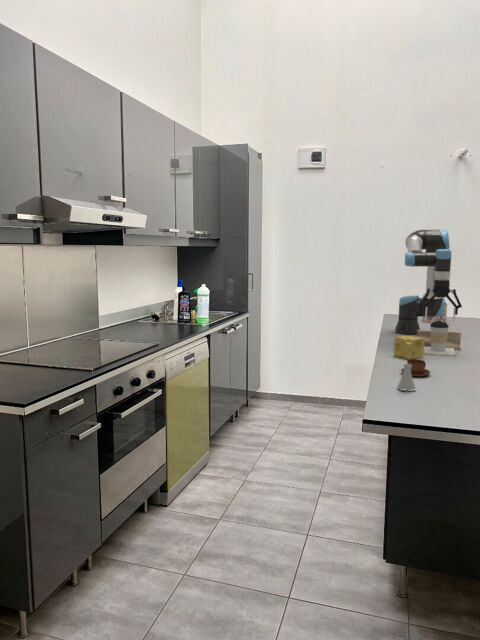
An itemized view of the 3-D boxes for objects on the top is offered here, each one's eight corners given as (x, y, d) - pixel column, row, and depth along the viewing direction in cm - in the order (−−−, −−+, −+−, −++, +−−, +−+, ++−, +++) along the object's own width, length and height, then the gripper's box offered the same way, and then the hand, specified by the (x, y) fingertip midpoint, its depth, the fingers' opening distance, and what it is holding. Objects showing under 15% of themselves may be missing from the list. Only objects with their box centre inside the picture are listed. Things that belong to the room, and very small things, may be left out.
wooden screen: (416, 345, 292) (417, 329, 291) (459, 348, 285) (460, 331, 283) (416, 347, 287) (417, 331, 285) (460, 350, 279) (461, 333, 278)
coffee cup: (448, 352, 270) (450, 323, 268) (430, 351, 272) (431, 322, 270) (445, 348, 279) (447, 320, 277) (427, 348, 281) (429, 320, 279)
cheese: (408, 360, 257) (409, 339, 255) (392, 355, 266) (393, 336, 265) (423, 357, 262) (424, 338, 260) (407, 353, 271) (408, 334, 270)
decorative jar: (421, 321, 378) (423, 296, 375) (434, 320, 382) (435, 295, 380) (434, 324, 367) (435, 298, 364) (446, 322, 372) (448, 297, 369)
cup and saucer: (407, 370, 237) (408, 356, 236) (434, 374, 230) (434, 360, 229) (396, 375, 228) (397, 361, 227) (423, 380, 220) (424, 365, 220)
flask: (394, 387, 209) (395, 362, 208) (411, 386, 210) (413, 362, 208) (400, 392, 202) (402, 367, 201) (419, 392, 203) (420, 366, 201)
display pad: (422, 347, 286) (422, 346, 286) (453, 349, 280) (454, 348, 280) (421, 353, 271) (421, 352, 271) (455, 355, 265) (455, 354, 265)
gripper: (416, 279, 271) (414, 320, 274) (468, 280, 262) (466, 322, 266) (416, 278, 278) (414, 317, 281) (468, 279, 269) (465, 320, 273)
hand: (439, 320), depth 273 cm, fingers open, 13 cm apart
